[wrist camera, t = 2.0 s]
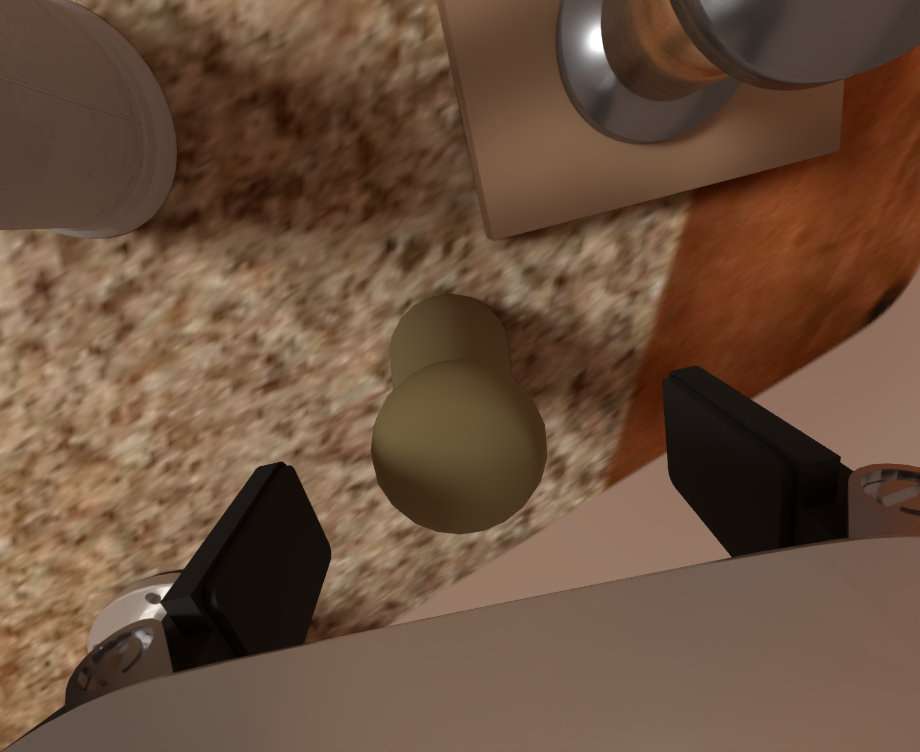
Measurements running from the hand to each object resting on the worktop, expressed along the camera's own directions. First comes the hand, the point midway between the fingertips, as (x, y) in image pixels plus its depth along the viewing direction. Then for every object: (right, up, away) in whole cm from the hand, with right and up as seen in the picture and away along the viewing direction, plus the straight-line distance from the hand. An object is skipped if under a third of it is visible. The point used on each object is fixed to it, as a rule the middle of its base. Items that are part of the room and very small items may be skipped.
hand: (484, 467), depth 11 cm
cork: (-1, +3, +11) cm, 12 cm away
